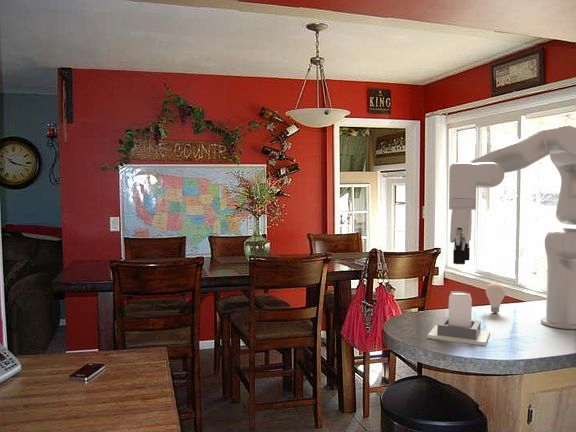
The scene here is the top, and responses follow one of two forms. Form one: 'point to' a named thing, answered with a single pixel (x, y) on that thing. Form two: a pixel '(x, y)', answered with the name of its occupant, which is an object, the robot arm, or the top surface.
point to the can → (460, 309)
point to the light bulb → (495, 296)
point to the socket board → (460, 333)
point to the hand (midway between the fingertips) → (461, 262)
